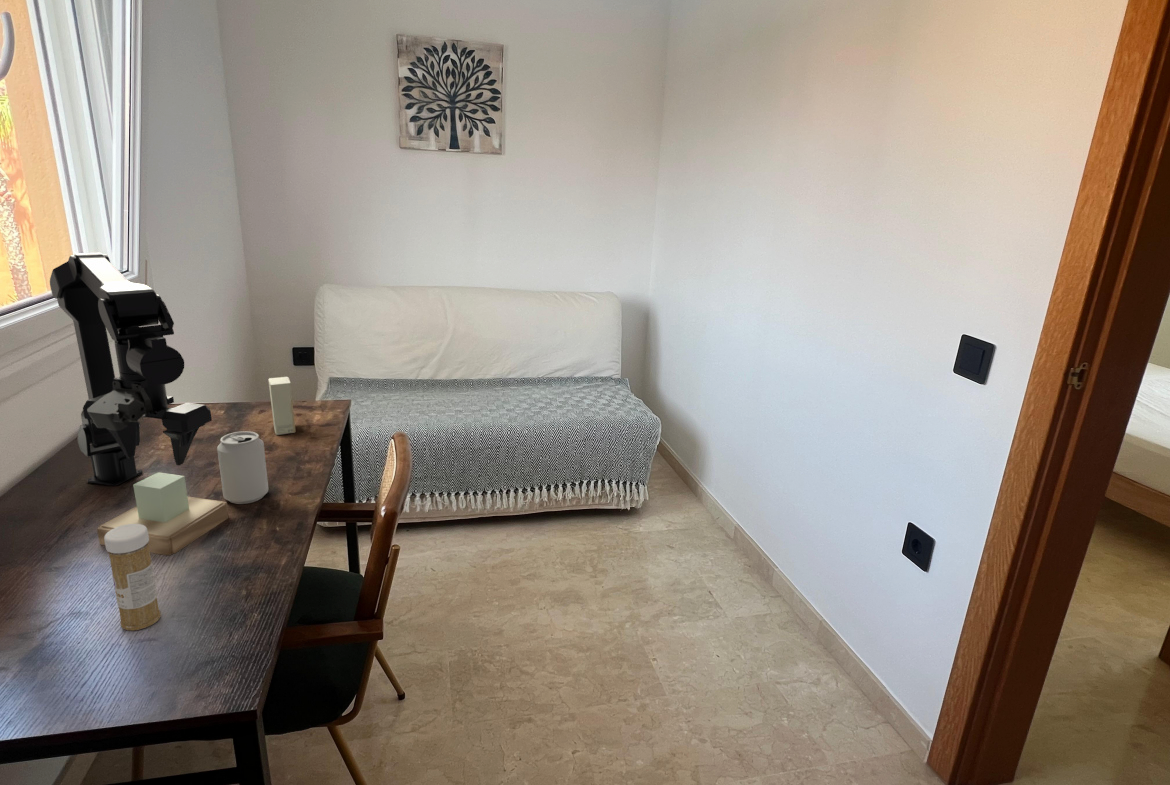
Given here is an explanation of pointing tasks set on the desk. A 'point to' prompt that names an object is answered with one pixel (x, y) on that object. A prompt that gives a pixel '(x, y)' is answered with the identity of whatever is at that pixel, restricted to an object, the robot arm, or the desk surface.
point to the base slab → (174, 525)
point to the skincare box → (282, 405)
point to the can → (242, 467)
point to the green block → (161, 497)
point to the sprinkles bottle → (133, 576)
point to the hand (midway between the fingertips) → (155, 460)
